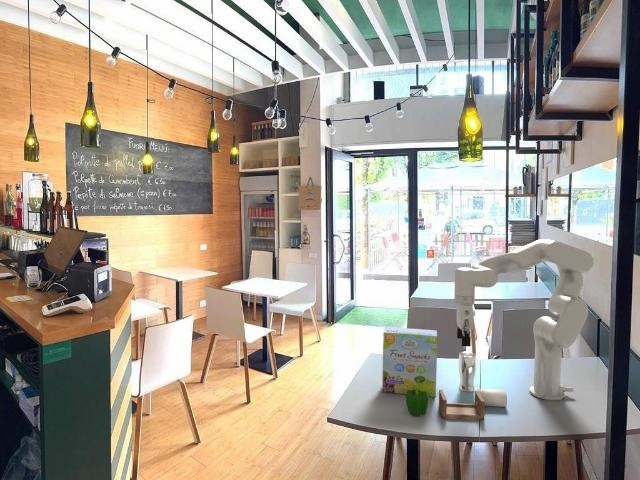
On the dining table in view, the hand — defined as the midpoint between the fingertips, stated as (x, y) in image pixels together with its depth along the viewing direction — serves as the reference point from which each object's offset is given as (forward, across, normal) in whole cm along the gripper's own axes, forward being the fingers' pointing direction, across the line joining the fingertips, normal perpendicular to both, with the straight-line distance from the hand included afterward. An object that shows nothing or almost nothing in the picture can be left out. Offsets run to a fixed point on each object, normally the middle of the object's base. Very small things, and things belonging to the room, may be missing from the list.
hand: (463, 342), depth 175 cm
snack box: (+23, +4, +21) cm, 31 cm away
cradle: (+23, -14, +3) cm, 27 cm away
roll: (+23, -5, -10) cm, 25 cm away
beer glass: (+23, +8, -3) cm, 25 cm away
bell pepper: (+23, -15, +19) cm, 33 cm away
